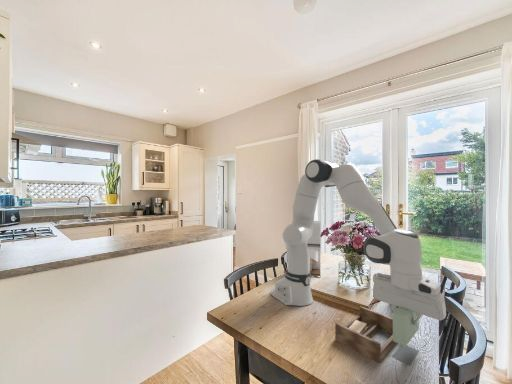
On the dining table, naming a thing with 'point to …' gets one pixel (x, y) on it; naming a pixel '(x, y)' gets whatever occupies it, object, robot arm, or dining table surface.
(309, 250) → the display case
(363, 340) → the rack
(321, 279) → the dining table surface
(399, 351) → the felt mat
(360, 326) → the offcut top
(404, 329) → the pale green block
